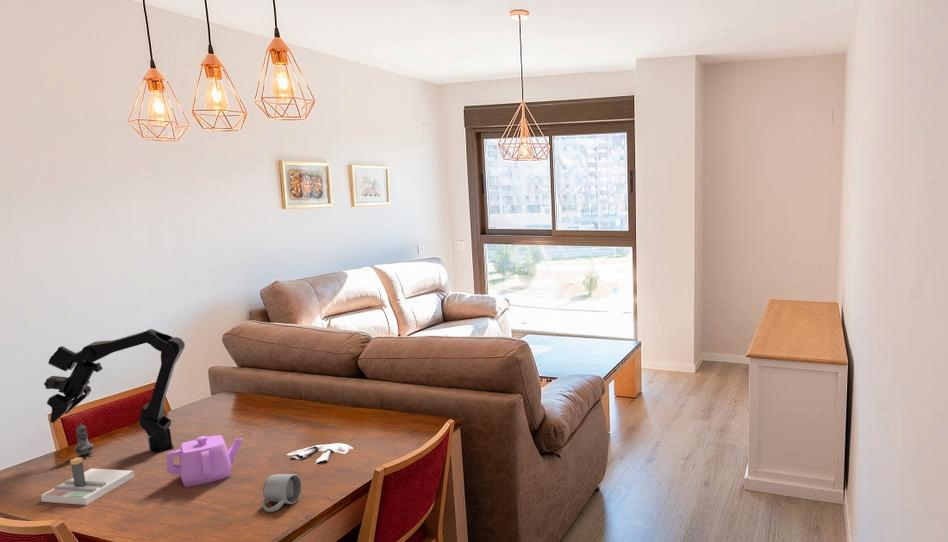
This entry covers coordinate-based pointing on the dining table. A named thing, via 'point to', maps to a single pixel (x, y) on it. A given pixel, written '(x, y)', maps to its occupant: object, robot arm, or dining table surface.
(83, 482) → the knob
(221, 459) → the teakettle
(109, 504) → the dining table surface
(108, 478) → the switch board
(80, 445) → the grey statuette
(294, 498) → the ceramic mug
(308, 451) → the cloth
